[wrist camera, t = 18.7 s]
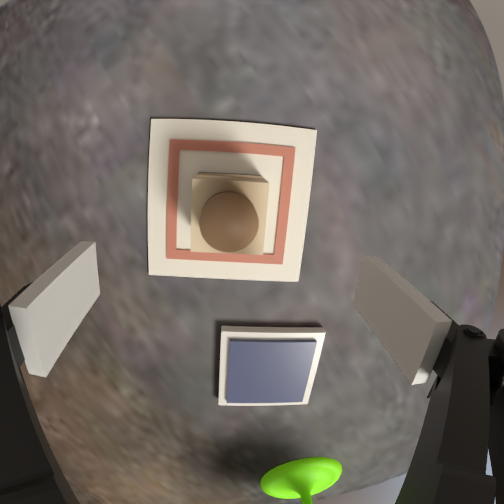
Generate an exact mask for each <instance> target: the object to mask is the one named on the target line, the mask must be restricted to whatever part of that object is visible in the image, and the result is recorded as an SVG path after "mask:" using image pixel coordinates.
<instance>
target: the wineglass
mask: <svg viewBox="0 0 504 504" xmlns="http://www.w3.org/2000/svg"><path fill="white" fill-rule="evenodd" d="M341 473H342V465H341V464H340V463H339V462H338V461H336V460H334V459H332V458H326V457H311V458H303V459H298V460H294V461H290V462H287V463H284V464H282V465H279V466H277V467H275V468H273V469H271V470H270V471H268V472H267V473H266V474H265V475H264V476H263V477H262V479H261V480H260V486H261V488H262V490H263V491H264V492H265V493H267V494H268V495H270V496H273V497H276V498H284V499H294V498H301V501H302V504H313V502H312V498H311V495H313V494H316V493H319V492H321V491H323V490H325V489H327V488H328V487H330V486H331V485H333V484H334V483H335V482H336V481H337V480H338V479H339V477H340V475H341Z"/></svg>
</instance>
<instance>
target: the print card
mask: <svg viewBox="0 0 504 504" xmlns="http://www.w3.org/2000/svg"><path fill="white" fill-rule="evenodd" d="M316 134H317V130H311V129H304V128H296V127H288V126H279V125H270V124H259V123H247V122H234V121H218V120H195V119H151V132H150V149H149V173H148V264H149V275H163V276H180V277H198V278H218V279H239V280H262V281H289V282H298V280H299V273H300V267H301V260H302V252H303V245H304V238H305V230H306V223H307V215H308V207H309V198H310V190H311V181H312V172H313V163H314V154H315V144H316ZM198 172H218V173H236V174H252V175H261V176H263V177H264V178H265V179H266V180H267V181H268V182H269V194H268V205H267V216H266V227H265V238H264V248H263V255H250V254H228V253H207V252H190V244H191V207H192V182H193V178H194V177H195V175H196V174H197V173H198Z"/></svg>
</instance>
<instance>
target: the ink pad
mask: <svg viewBox="0 0 504 504" xmlns="http://www.w3.org/2000/svg"><path fill="white" fill-rule="evenodd" d="M324 337H325V331H324V329H323V327H246V326H221V345H220V371H219V405H235V406H266V405H297V404H308V400H309V396H310V393H311V389H312V385H313V381H314V378H315V374H316V370H317V366H318V362H319V358H320V354H321V350H322V345H323V341H324Z"/></svg>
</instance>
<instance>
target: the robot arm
mask: <svg viewBox="0 0 504 504" xmlns="http://www.w3.org/2000/svg"><path fill="white" fill-rule="evenodd" d="M99 295H100V288H99V279H98V269H97V258H96V245H95V242H86V241H81V242H80V243H79V244H77V245H76V246H75V247H74V248H73V249H71V250H70V251H69V252H68V253H67V254H65V255H64V256H63V257H62V258H61V259H59V260H58V261H57V262H56V263H55V264H54V265H52V266H51V267H50V268H49V269H48V270H47V271H45V272H44V273H43V274H42V275H41V276H40V277H39V278H38V279H36V280H35V281H34V282H32V283H30V284H28V285H26V286H24V287H23V288H22V289H21V290H19V291H18V292H17V294H15V295H14V296H13V297H12V298H11V299H10V300H9V301H8V302H6V303H5V304H4V305H3V306H2V307H1V305H0V504H80V503H79V502H78V500H77V498H76V496H75V495H74V493H73V491H72V489H71V488H70V486H69V484H68V482H67V480H66V478H65V477H64V475H63V473H62V471H61V469H60V467H59V465H58V463H57V461H56V459H55V457H54V455H53V452H52V450H51V448H50V446H49V444H48V441H47V439H46V437H45V435H44V432H43V430H42V427H41V425H40V423H39V420H38V417H37V415H36V412H35V410H34V407H33V404H32V402H31V399H30V396H29V393H28V390H27V387H26V384H25V381H24V378H23V375H22V372H21V369H20V366H21V365H22V363H23V362H24V361H25V363H26V366H27V369H28V372H29V374H33V375H38V376H42V377H47V375H48V373H49V372H50V370H51V368H52V367H53V365H54V363H55V362H56V360H57V359H58V357H59V355H60V354H61V352H62V351H63V349H64V347H65V346H66V344H67V343H68V341H69V340H70V338H71V336H72V335H73V333H74V332H75V330H76V329H77V327H78V326H79V324H80V323H81V321H82V320H83V318H84V317H85V315H86V314H87V312H88V311H89V309H90V308H91V306H92V305H93V304H94V302H95V301H96V299H97V298H98V296H99ZM353 304H354V306H355V307H356V308H357V310H358V311H359V313H360V314H361V315H362V317H363V318H364V319H365V321H366V322H367V323H368V325H369V326H370V327H371V329H372V330H373V331H374V333H375V334H376V336H377V337H378V338H379V340H380V341H381V342H382V344H383V345H384V347H385V348H386V349H387V351H388V352H389V354H390V355H391V356H392V358H393V359H394V361H395V362H396V363H397V365H398V366H399V368H400V369H401V370H402V372H403V373H404V375H405V376H406V378H407V379H408V380H409V382H410V383H411V385H413V384H419V383H425V382H427V381H428V379H429V376H430V374H431V372H432V370H434V371H435V372H436V374H437V377H436V380H435V382H434V384H433V386H432V388H431V390H430V392H429V394H428V396H427V398H430V401H429V405H428V409H427V413H426V416H425V420H424V424H423V427H422V430H421V434H420V437H419V440H418V444H417V447H416V450H415V453H414V456H413V459H412V461H411V464H410V467H409V470H408V473H407V475H406V478H405V481H404V483H403V486H402V488H401V491H400V493H399V496H398V498H397V500H396V503H395V504H494V500H495V499H496V504H504V329H501V330H500V331H499V333H498V335H497V338H496V340H493V339H487V337H486V335H485V334H484V332H483V331H481V330H480V329H478V328H476V327H474V326H471V325H460V326H459V325H458V324H457V323H456V322H454V321H453V320H452V319H451V318H450V317H449V316H448V315H447V314H445V312H443V311H442V310H441V309H439V307H438V306H437V305H436V304H434V303H433V302H432V301H430V300H428V299H427V298H426V297H425V296H424V295H423V294H421V293H420V292H419V291H418V290H417V289H416V288H415V287H413V286H412V285H411V284H410V283H409V282H408V281H406V280H405V279H404V278H403V277H402V276H400V275H399V274H398V273H397V272H396V271H395V270H393V269H392V268H391V267H390V266H388V265H387V264H386V263H385V262H384V261H382V260H381V259H380V258H379V257H378V256H368V255H364V257H363V262H362V267H361V272H360V276H359V281H358V286H357V290H356V295H355V299H354V303H353ZM430 396H431V397H430ZM488 449H489V455H490V461H491V467H492V474H493V476H490V475H486V464H487V454H488ZM495 497H496V498H495Z"/></svg>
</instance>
